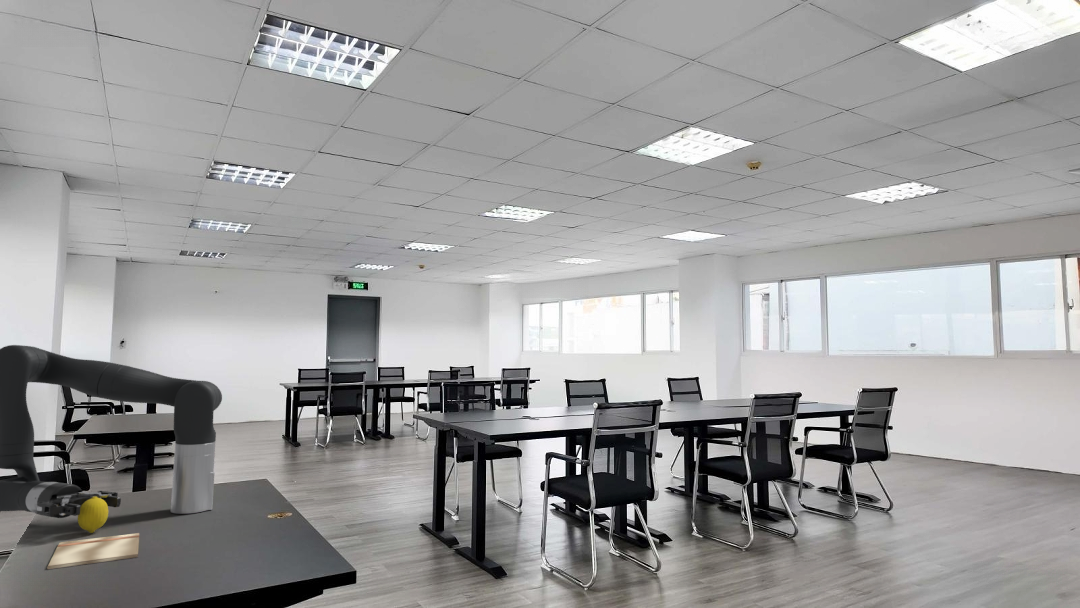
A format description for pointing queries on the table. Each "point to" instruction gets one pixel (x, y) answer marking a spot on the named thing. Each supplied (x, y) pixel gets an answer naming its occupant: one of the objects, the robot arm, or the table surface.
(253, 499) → the table surface
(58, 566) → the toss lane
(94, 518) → the lemon
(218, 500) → the table surface
